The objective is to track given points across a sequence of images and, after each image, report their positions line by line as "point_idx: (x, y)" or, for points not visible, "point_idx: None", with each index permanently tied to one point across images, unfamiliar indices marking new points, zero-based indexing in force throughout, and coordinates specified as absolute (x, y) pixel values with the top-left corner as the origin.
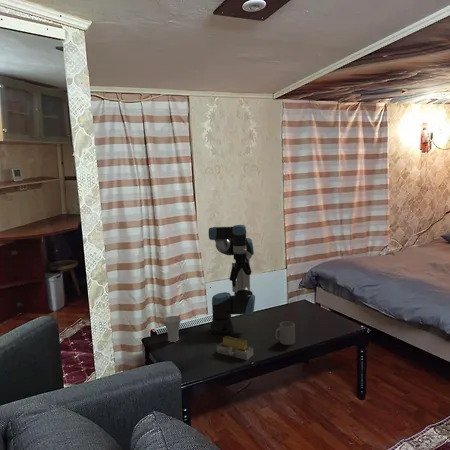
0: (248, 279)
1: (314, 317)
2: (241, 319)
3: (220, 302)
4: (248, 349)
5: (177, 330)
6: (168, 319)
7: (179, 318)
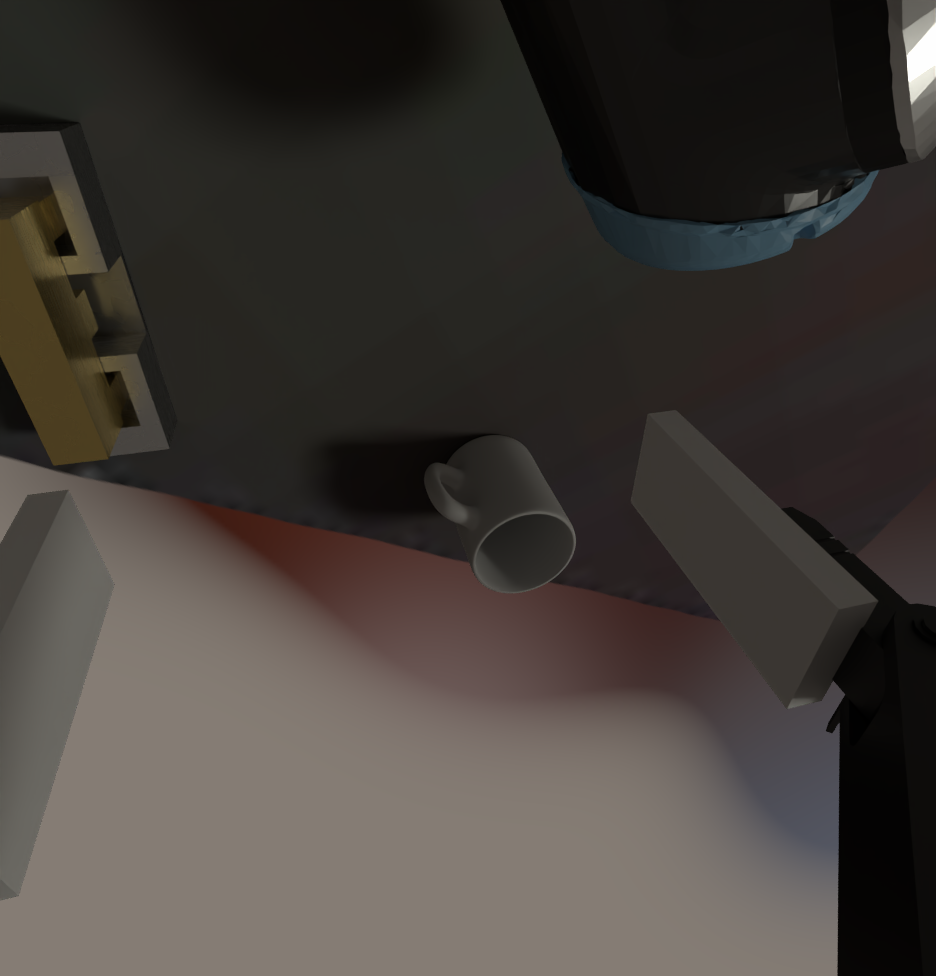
0: (715, 602)
1: (897, 407)
2: None
3: None
4: (119, 438)
5: None
6: None
7: None
